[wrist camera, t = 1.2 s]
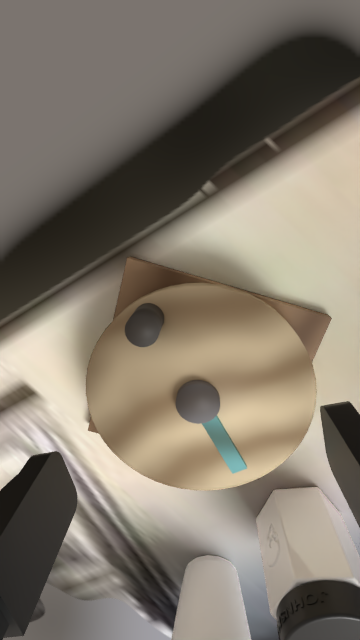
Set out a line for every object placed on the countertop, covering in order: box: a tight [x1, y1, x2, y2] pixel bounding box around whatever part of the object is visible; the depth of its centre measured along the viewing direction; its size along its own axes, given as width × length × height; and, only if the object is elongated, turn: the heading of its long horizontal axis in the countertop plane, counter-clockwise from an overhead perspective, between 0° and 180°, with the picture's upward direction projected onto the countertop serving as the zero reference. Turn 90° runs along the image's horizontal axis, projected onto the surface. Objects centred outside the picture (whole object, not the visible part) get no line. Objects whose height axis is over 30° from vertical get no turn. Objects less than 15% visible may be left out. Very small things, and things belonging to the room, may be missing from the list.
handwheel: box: [86, 283, 317, 491], centre depth 27 cm, size 19×19×4 cm
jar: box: [256, 487, 360, 640], centre depth 31 cm, size 9×8×12 cm
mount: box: [88, 257, 332, 480], centre depth 31 cm, size 18×18×3 cm
